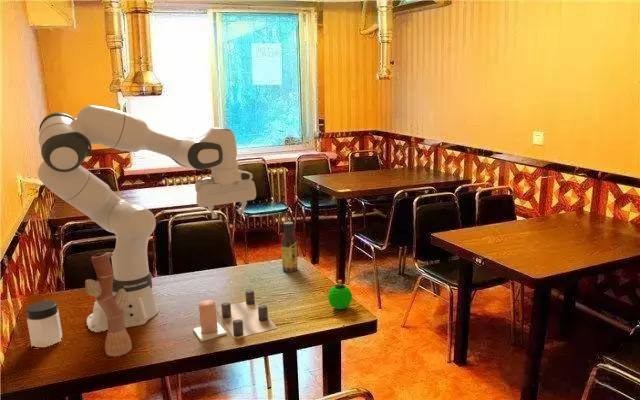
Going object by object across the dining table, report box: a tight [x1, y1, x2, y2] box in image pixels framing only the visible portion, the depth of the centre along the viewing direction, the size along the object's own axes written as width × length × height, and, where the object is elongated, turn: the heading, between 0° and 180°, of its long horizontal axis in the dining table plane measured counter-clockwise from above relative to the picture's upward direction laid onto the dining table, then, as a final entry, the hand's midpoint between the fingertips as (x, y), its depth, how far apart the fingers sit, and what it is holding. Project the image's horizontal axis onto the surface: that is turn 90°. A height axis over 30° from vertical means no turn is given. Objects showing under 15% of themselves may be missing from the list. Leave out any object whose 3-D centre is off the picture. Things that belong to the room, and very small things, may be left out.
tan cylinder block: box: [198, 299, 218, 334], centre depth 157 cm, size 5×5×9 cm
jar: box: [26, 300, 63, 347], centre depth 154 cm, size 9×8×12 cm
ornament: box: [327, 279, 353, 310], centre depth 171 cm, size 8×8×10 cm
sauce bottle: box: [281, 221, 298, 273], centre depth 207 cm, size 7×6×20 cm
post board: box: [216, 289, 279, 340], centre depth 167 cm, size 14×24×5 cm, turn 25°
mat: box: [192, 321, 227, 342], centre depth 158 cm, size 8×8×1 cm
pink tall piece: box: [84, 251, 133, 357], centre depth 146 cm, size 10×7×30 cm
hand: (228, 215), depth 174 cm, fingers open, 8 cm apart
